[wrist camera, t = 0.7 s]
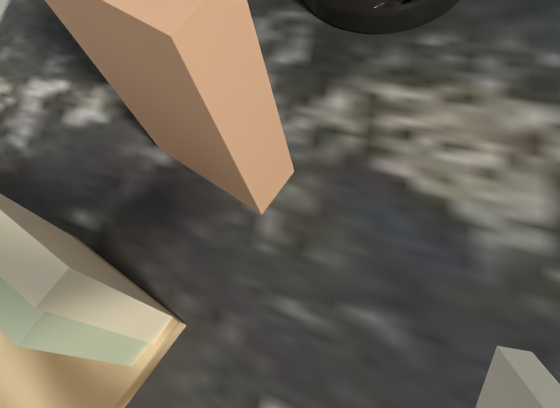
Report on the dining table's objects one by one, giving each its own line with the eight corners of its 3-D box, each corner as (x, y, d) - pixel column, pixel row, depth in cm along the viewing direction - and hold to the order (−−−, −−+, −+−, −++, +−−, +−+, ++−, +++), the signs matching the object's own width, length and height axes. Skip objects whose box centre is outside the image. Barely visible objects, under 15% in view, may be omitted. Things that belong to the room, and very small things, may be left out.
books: (70, 235, 34) (-67, 154, 23) (172, 317, 31) (69, 267, 20) (32, 279, 33) (-129, 216, 22) (133, 368, 30) (2, 346, 19)
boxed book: (192, 111, 38) (68, -109, 22) (294, 171, 35) (236, -37, 19) (160, 149, 37) (5, -51, 21) (261, 214, 34) (170, 36, 18)
